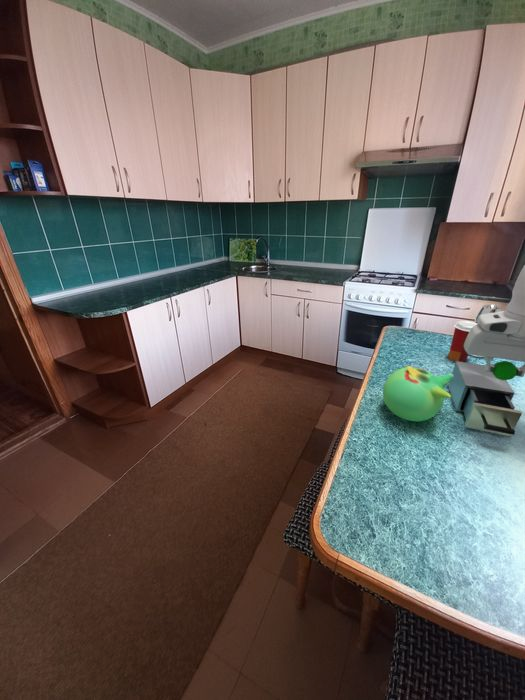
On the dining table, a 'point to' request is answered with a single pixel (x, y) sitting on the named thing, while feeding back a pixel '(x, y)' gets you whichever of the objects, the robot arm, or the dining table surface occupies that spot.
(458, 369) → the grey drawer cabinet
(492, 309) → the wineglass
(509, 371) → the polyhedron
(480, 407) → the drawer
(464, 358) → the coffee cup
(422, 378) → the toy bird
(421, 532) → the dining table surface
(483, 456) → the dining table surface
